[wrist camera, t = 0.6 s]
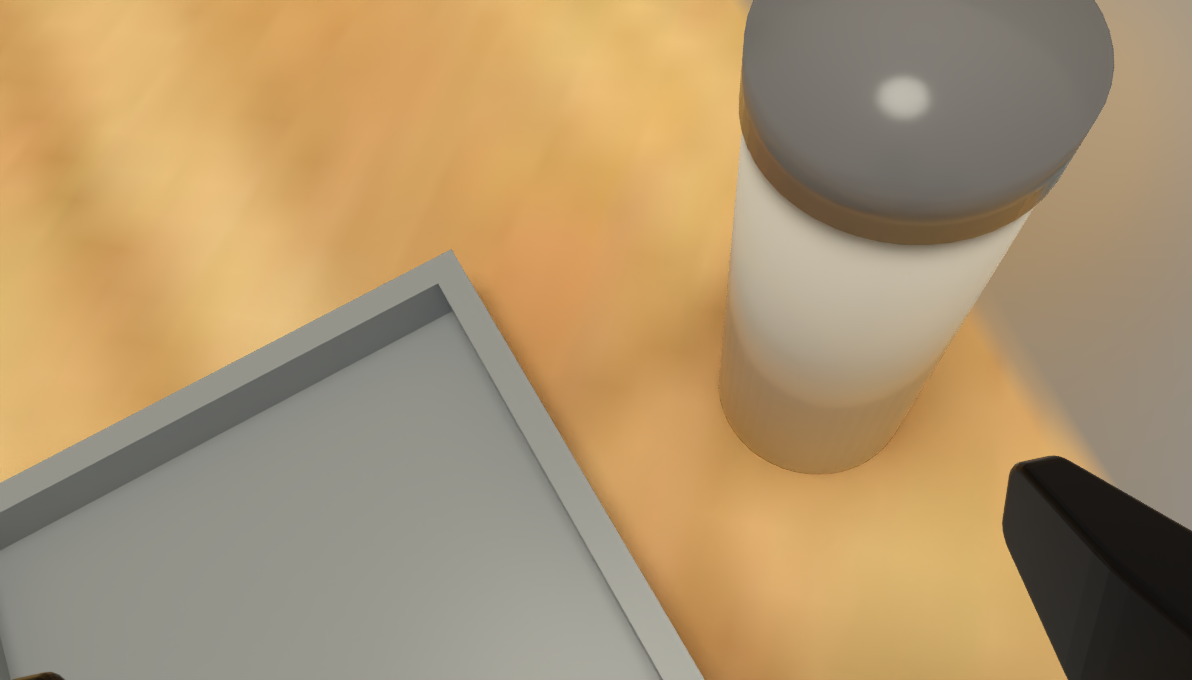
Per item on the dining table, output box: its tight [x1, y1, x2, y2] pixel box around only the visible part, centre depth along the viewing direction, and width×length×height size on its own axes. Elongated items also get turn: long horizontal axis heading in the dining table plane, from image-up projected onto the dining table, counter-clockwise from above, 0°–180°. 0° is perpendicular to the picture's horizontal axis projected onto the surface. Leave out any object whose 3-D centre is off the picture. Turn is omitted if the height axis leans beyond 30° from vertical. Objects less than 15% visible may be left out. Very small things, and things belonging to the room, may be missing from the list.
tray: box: [0, 249, 704, 680], centre depth 23 cm, size 16×16×2 cm
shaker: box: [719, 0, 1114, 474], centre depth 20 cm, size 5×5×14 cm
